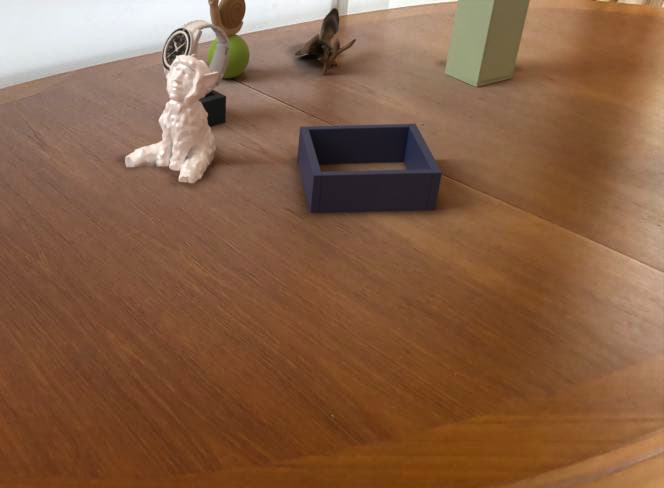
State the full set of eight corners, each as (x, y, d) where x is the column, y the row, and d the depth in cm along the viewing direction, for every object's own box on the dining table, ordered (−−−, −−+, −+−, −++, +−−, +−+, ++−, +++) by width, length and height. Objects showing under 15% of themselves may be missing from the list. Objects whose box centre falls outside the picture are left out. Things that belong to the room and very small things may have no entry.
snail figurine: (193, 79, 117) (193, -19, 109) (226, 67, 120) (229, -29, 112) (223, 89, 113) (226, -11, 106) (257, 76, 116) (262, -22, 109)
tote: (407, 169, 93) (415, 123, 90) (432, 222, 84) (442, 172, 81) (296, 172, 94) (299, 126, 90) (309, 224, 85) (313, 175, 81)
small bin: (479, 65, 116) (499, -35, 108) (512, 78, 112) (535, -25, 104) (444, 73, 114) (462, -27, 107) (476, 87, 110) (497, -17, 102)
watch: (155, 120, 106) (153, 24, 99) (210, 105, 109) (212, 11, 102) (181, 135, 103) (181, 36, 96) (238, 118, 106) (241, 22, 99)
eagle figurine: (368, 63, 115) (349, 29, 121) (346, 20, 110) (328, -13, 116) (315, 96, 118) (299, 62, 124) (292, 56, 113) (276, 22, 119)
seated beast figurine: (121, 172, 95) (115, 59, 88) (172, 146, 100) (171, 36, 93) (189, 196, 90) (190, 78, 83) (240, 167, 95) (244, 53, 87)
